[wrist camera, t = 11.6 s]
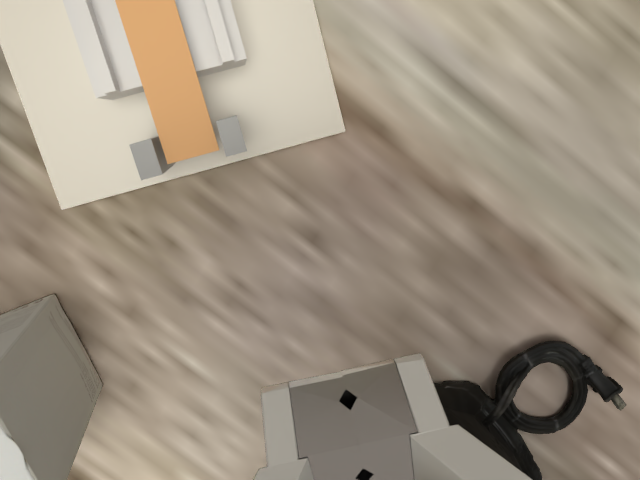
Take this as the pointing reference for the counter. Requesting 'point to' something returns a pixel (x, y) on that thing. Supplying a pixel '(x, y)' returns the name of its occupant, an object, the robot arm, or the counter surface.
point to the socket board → (130, 100)
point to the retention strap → (168, 77)
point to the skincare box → (42, 392)
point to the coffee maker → (502, 415)
